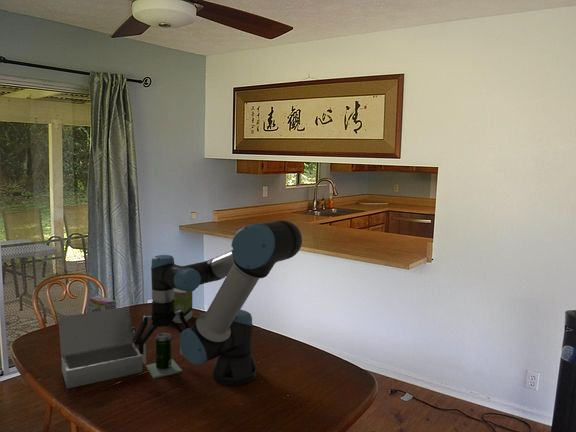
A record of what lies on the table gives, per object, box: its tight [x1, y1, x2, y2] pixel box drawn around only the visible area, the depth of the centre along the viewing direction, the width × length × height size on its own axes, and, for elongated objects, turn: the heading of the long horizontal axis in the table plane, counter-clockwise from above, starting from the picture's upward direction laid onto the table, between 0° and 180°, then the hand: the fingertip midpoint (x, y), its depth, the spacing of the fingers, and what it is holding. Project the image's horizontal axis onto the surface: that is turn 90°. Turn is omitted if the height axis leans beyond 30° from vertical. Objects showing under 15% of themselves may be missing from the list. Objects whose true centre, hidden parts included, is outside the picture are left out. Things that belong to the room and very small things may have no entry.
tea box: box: [173, 288, 194, 324], centre depth 214 cm, size 15×10×15 cm
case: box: [58, 306, 143, 389], centre depth 163 cm, size 18×25×18 cm
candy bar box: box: [88, 295, 117, 313], centre depth 190 cm, size 11×5×16 cm, turn 58°
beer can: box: [155, 332, 173, 371], centre depth 164 cm, size 5×5×12 cm
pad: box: [145, 359, 183, 380], centre depth 165 cm, size 10×10×1 cm
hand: (163, 358), depth 165 cm, fingers open, 13 cm apart
